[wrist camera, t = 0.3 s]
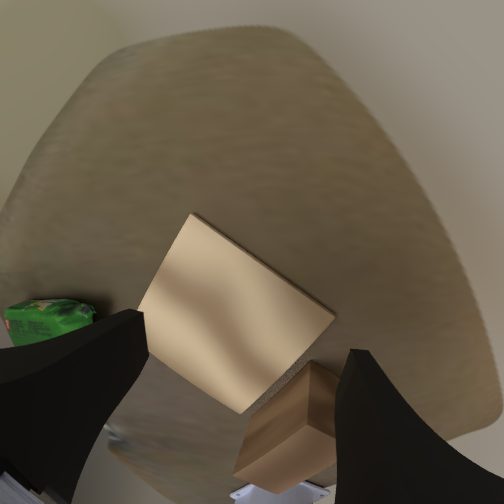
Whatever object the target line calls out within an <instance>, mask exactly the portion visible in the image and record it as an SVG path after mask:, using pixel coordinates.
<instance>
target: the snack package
mask: <svg viewBox="0 0 504 504" xmlns="http://www.w3.org/2000/svg"><path fill="white" fill-rule="evenodd" d="M91 309H92V310H91ZM93 313H96V312H95V310H94V306H93V305H91V304H88V303H79V302H77V301H75V300H67V299H53V300H28V301H24V302H21V303H19V304H16V305H13V306H11V307H9V308H7V309H6V311H5V314H4V320H5V325H6V328H7V331H8V333H9V336H10V338H11V340H12V342H13V344H14V346H15V347H16V346H22V345H28V344H32V343H36V342H40V341H44V340H47V339H51V338H54V337H57V336H60V335H63V334H65V333H68V332H71V331H73V330H76V329H79V328H81V327H84V326H86V325H89V324H91V323H93V320H92V315H93ZM96 314H97V313H96Z"/></svg>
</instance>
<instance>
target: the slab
mask: <svg viewBox="0 0 504 504" xmlns="http://www.w3.org/2000/svg"><path fill="white" fill-rule="evenodd" d="M339 381H340V378H338V377H336V376H335V375H333V374H332V373H330V372H329V371H327V370H325V369H324V368H322V367H321V366H319V365H318V364H316V363H314V362H313V361H311V360H310V361H309V362H308V363H307V364H306V365H305V366H304V367H303V368H302V369H301V370H300V371H299V372H298V373H297V374H296V375H295V376H294V377H293V378H292V379H291V380H290V381H289V382H288V383H287V384H286V385H285V386H284V387H283V388H282V389H281V390H279V391H278V392H277V393H276V394H275V395H274V396H273V397H272V398H271V399H270V400H269V401H268V402H266V403H265V404H264V405H263V406H262V407H261V408H260V409H259V410H258V411H256V412H255V413H254V414H253V415H252V416H251V419H250V422H249V425H248V429H247V432H246V435H245V438H244V441H243V444H242V447H241V451H240V454H239V457H238V460H237V463H236V466H235V469H234V472H233V476H235V477H237V478H239V479H241V480H244V481H246V482H248V483H250V484H252V485H255V486H257V487H259V488H262V489H264V490H266V491H269V492H271V493H274V494H276V495H278V494H280V493H282V492H284V491H286V490H288V489H290V488H292V487H294V486H296V485H298V484H299V483H301V482H303V481H305V480H307V479H309V478H310V477H312V476H314V475H316V474H317V473H319V472H321V471H322V470H324V469H326V468H327V467H329V466H331V465H332V464H334V463H335V462H337V457H336V439H335V422H334V411H335V393H336V389H337V387H338V384H339Z"/></svg>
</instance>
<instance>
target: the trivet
mask: <svg viewBox="0 0 504 504" xmlns="http://www.w3.org/2000/svg"><path fill="white" fill-rule="evenodd" d="M137 311H141V312H144V320H145V329H146V337H147V344H148V351H149V352H150V353H152V354H153V355H154V356H156V357H157V358H158V359H159V360H161V361H162V362H163V363H165V364H166V365H167V366H169V367H170V368H171V369H173V370H174V371H176V372H177V373H178V374H180V375H181V376H183V377H184V378H185V379H187V380H188V381H190V382H191V383H193V384H194V385H195V386H197V387H198V388H200V389H201V390H203V391H204V392H206V393H207V394H209V395H210V396H212V397H213V398H215V399H217V400H218V401H220V402H221V403H223V404H224V405H226V406H228V407H229V408H231V409H233V410H234V411H236V412H237V413H239V414H242V413H243V412H244V411H245V410H246V409H247V408H248V407H249V406H250V405H251V404H253V403H254V402H255V401H256V400H257V399H258V398H259V397H260V396H261V395H262V394H263V393H264V392H265V391H266V390H267V389H268V388H269V387H270V386H271V385H272V384H273V383H275V382H276V381H277V380H278V379H279V378H280V377H281V376H282V375H283V374H284V373H285V372H286V371H287V370H288V369H289V367H290V366H291V365H292V364H293V363H294V362H295V361H296V360H297V359H298V358H299V357H300V356H301V355H302V354H303V353H304V352H305V351H306V350H307V349H308V348H309V347H310V345H311V344H312V343H313V342H314V341H315V340H316V339H317V338H318V337H319V336H320V335H321V333H322V332H323V331H324V330H325V329H326V328H327V327H328V326H329V324H330V323H331V322H332V321H333V320H334V319H335V318H336V317H335V314H334V313H332V312H331V311H329V310H328V309H327V308H325V307H324V306H322V305H321V304H320V303H318V302H317V301H315V300H314V299H313V298H311V297H310V296H308V295H307V294H306V293H304V292H303V291H301V290H300V289H299V288H297V287H296V286H294V285H293V284H292V283H290V282H289V281H287V280H286V279H285V278H283V277H282V276H280V275H279V274H278V273H276V272H275V271H273V270H272V269H271V268H269V267H268V266H266V265H265V264H264V263H262V262H261V261H259V260H258V259H257V258H255V257H254V256H252V255H251V254H250V253H248V252H247V251H245V250H244V249H243V248H241V247H240V246H238V245H237V244H236V243H234V242H233V241H231V240H230V239H229V238H227V237H226V236H224V235H223V234H222V233H220V232H219V231H217V230H216V229H215V228H213V227H212V226H210V225H209V224H208V223H206V222H205V221H203V220H202V219H201V218H199V217H198V216H196V215H195V214H194V213H192V214H190V215H189V217H188V219H187V220H186V222H185V224H184V225H183V227H182V229H181V231H180V232H179V234H178V236H177V238H176V239H175V241H174V243H173V245H172V246H171V248H170V250H169V252H168V253H167V255H166V257H165V259H164V261H163V262H162V264H161V266H160V268H159V270H158V272H157V273H156V275H155V277H154V279H153V281H152V283H151V285H150V287H149V288H148V290H147V292H146V294H145V296H144V298H143V300H142V302H141V304H140V306H139V308H138V310H137Z"/></svg>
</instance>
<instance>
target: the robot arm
mask: <svg viewBox="0 0 504 504" xmlns="http://www.w3.org/2000/svg"><path fill="white" fill-rule="evenodd" d="M148 357H149V351H148V344H147V337H146V329H145V320H144V312H141V311H137V310H133V309H127V310H123V311H121V312H118V313H115V314H113V315H110V316H108V317H106V318H103V319H101V320H98V321H96V322H94V323H91V324H89V325H86V326H84V327H81V328H79V329H76V330H73V331H71V332H68V333H65V334H63V335H60V336H57V337H54V338H51V339H47V340H44V341H40V342H36V343H32V344H28V345H22V346H16V347H11V348H4V349H0V504H45V503H43V502H42V501H40V500H39V499H38V498H37V497H35V496H34V495H33V494H31V493H30V492H29V490H30V489H32V490H33V491H35V492H36V493H37V494H39V495H40V494H41V493H42V494H44V495H45V496H46V497H48V498H49V499H51V500H52V501H54V502H55V503H56V504H71V502H72V498H73V495H74V491H75V489H76V486H77V482H78V480H79V477H80V474H81V472H82V469H83V467H84V464H85V462H86V460H87V458H88V455H89V453H90V451H91V449H92V447H93V445H94V443H95V441H96V439H97V437H98V435H99V433H100V431H101V430H102V428H103V426H104V424H105V423H106V421H107V420H108V418H109V417H110V415H111V414H112V413H113V411H114V410H115V409H116V407H117V406H118V404H119V403H120V402H121V400H122V399H123V398H124V396H125V395H126V393H127V392H128V391H129V389H130V388H131V387H132V385H133V384H134V382H135V381H136V380H137V378H138V377H139V375H140V373H141V371H142V369H143V367H144V365H145V363H146V361H147V359H148ZM334 422H335V439H336V457H337V485H336V486H337V487H336V495H335V504H504V478H501V477H499V476H497V475H495V474H493V473H491V472H489V471H487V470H485V469H484V468H482V467H480V466H479V465H477V464H476V463H474V462H472V461H471V460H469V459H468V458H466V457H465V456H463V455H462V454H461V453H459V452H458V451H457V450H455V449H454V448H453V447H452V446H450V445H449V444H448V443H447V442H445V441H444V440H443V439H442V438H441V437H440V436H439V435H437V434H436V433H435V432H434V431H433V430H432V429H431V428H430V427H429V426H428V425H427V424H426V423H425V422H424V421H423V420H422V419H421V418H420V417H419V416H418V415H417V413H416V412H415V411H414V410H413V409H412V408H411V406H410V405H409V404H408V403H407V402H406V401H405V399H404V398H403V397H402V396H401V394H400V393H399V392H398V391H397V389H396V388H395V387H394V385H393V384H392V383H391V381H390V380H389V379H388V377H387V376H386V375H385V373H384V372H383V370H382V369H381V368H380V366H379V365H378V363H377V362H376V361H375V359H374V358H373V356H372V355H371V354H370V352H369V351H368V350H359V349H350V352H349V355H348V358H347V361H346V364H345V367H344V370H343V373H342V376H341V378H340V381H339V384H338V387H337V389H336V393H335V411H334ZM329 494H330V491H329V490H327V489H324V488H321V487H319V486H316V485H313V484H311V483H308V482H306V481H303V482H301V483H299V484H298V485H296V486H294V487H292V488H290V489H288V490H286V491H284V492H282V493H280V494H278V495H276V494H274V493H271V492H269V491H266V490H264V489H262V488H259V487H257V486H255V485H252V484H248V485H246V486H245V487H243V488H241V489H239V490H237V491H235V492H233V493H231V494H230V497H232V498H234V499H236V501H235V504H313V502H315V501H317V500H319V499H321V498H323V497H325V496H327V495H329Z"/></svg>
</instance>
